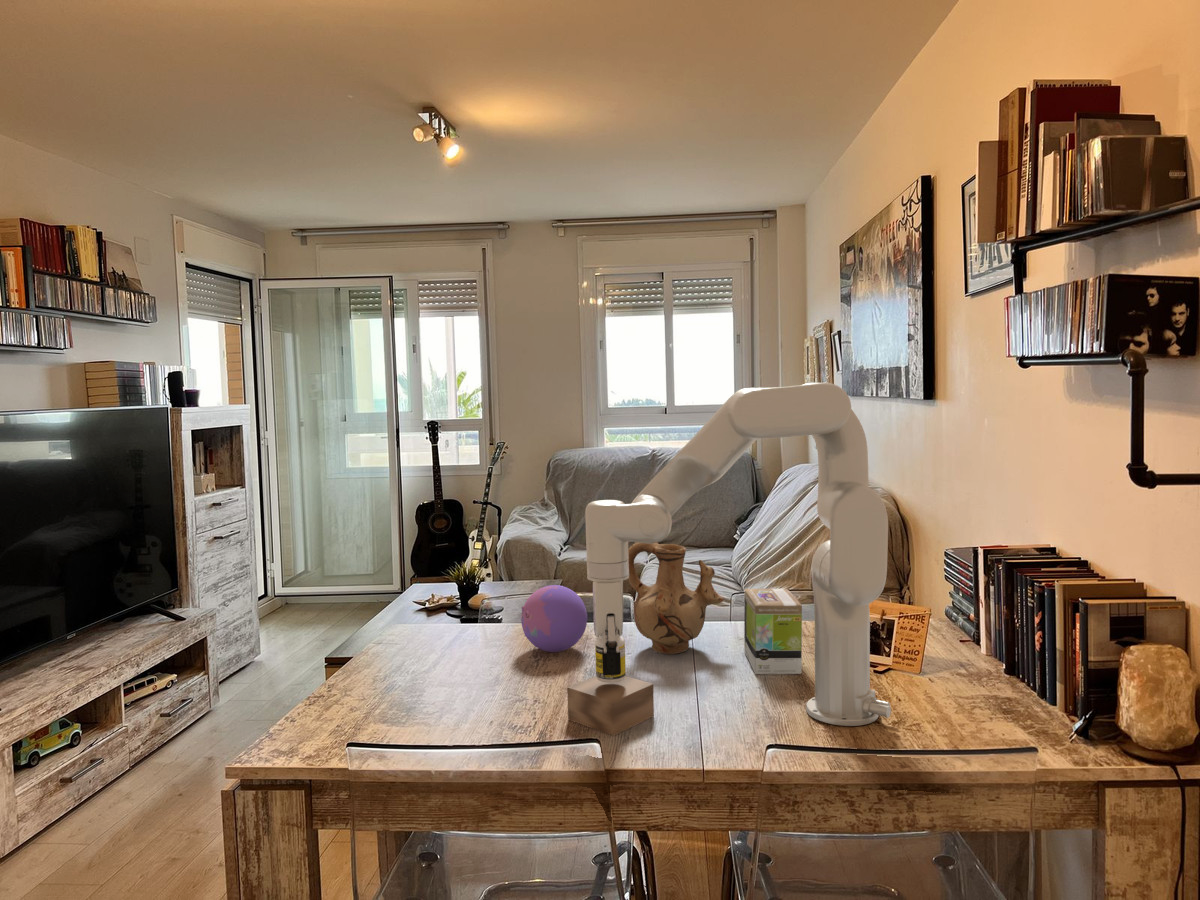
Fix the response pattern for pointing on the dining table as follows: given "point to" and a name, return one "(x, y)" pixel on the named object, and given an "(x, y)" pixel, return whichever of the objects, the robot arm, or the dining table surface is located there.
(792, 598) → the tea box
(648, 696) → the walnut block
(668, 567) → the ceramic vessel
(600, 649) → the supplement bottle
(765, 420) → the robot arm
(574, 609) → the decorative ball
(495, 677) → the dining table surface
